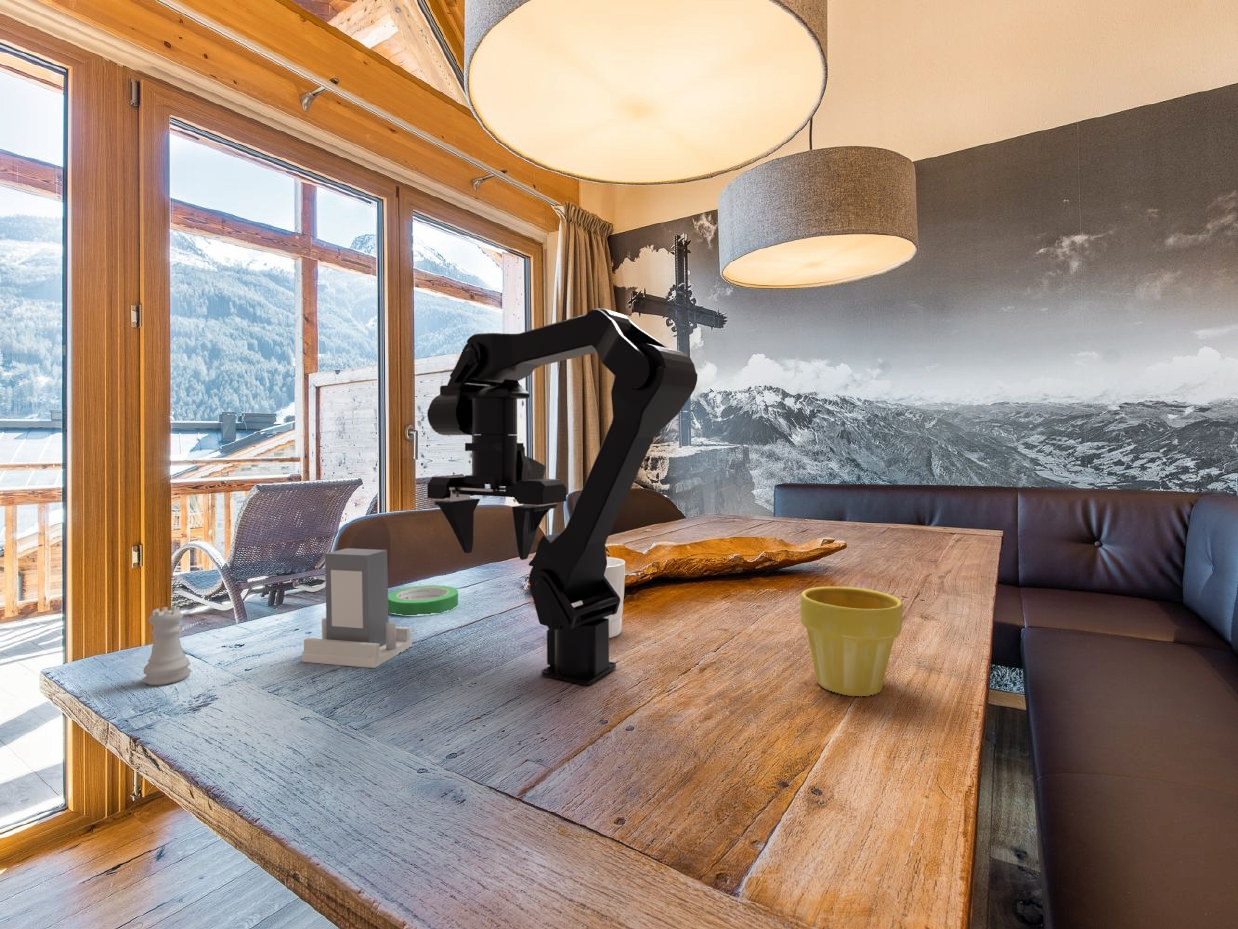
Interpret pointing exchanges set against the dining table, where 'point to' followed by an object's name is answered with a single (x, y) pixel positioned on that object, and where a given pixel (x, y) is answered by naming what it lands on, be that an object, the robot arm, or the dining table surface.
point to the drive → (357, 595)
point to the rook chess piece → (166, 649)
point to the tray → (356, 648)
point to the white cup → (616, 580)
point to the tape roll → (422, 600)
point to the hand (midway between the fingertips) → (495, 556)
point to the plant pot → (850, 636)
